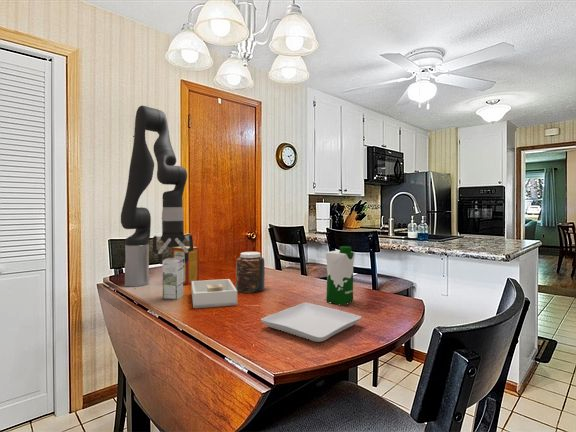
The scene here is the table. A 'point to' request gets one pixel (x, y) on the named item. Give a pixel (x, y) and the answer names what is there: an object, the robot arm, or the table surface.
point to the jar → (250, 272)
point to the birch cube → (214, 288)
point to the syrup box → (172, 278)
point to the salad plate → (311, 321)
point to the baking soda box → (188, 264)
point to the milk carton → (340, 275)
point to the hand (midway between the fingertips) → (173, 263)
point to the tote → (213, 294)
